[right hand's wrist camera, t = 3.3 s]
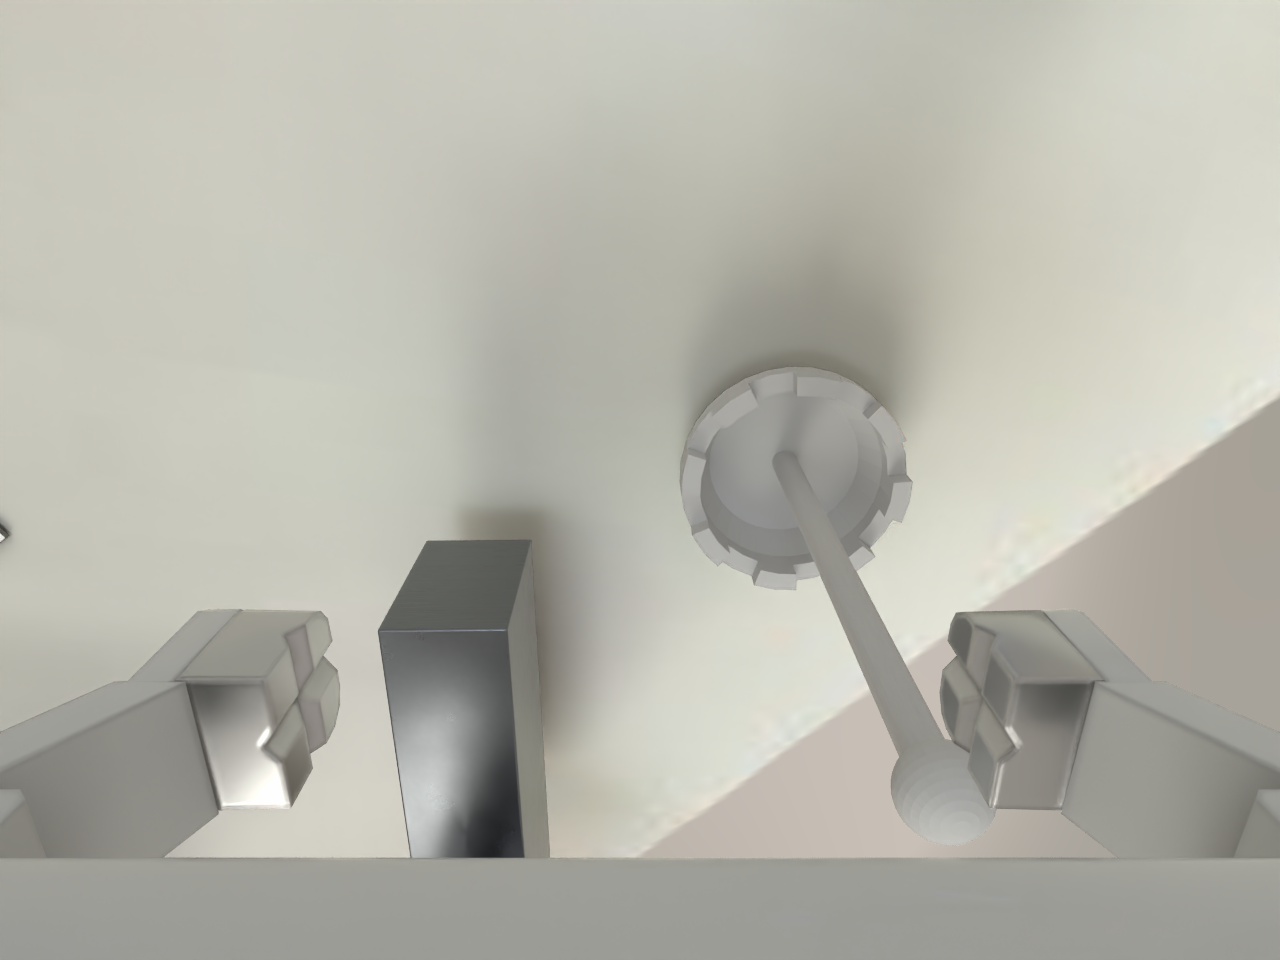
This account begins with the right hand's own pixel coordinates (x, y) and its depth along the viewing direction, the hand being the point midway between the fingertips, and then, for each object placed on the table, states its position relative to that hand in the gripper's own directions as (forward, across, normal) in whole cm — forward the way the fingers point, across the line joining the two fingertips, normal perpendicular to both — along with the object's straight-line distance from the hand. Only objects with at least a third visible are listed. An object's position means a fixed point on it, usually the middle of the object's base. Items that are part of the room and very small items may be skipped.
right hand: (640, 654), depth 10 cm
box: (+32, -9, -26) cm, 43 cm away
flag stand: (+38, +9, -11) cm, 41 cm away
